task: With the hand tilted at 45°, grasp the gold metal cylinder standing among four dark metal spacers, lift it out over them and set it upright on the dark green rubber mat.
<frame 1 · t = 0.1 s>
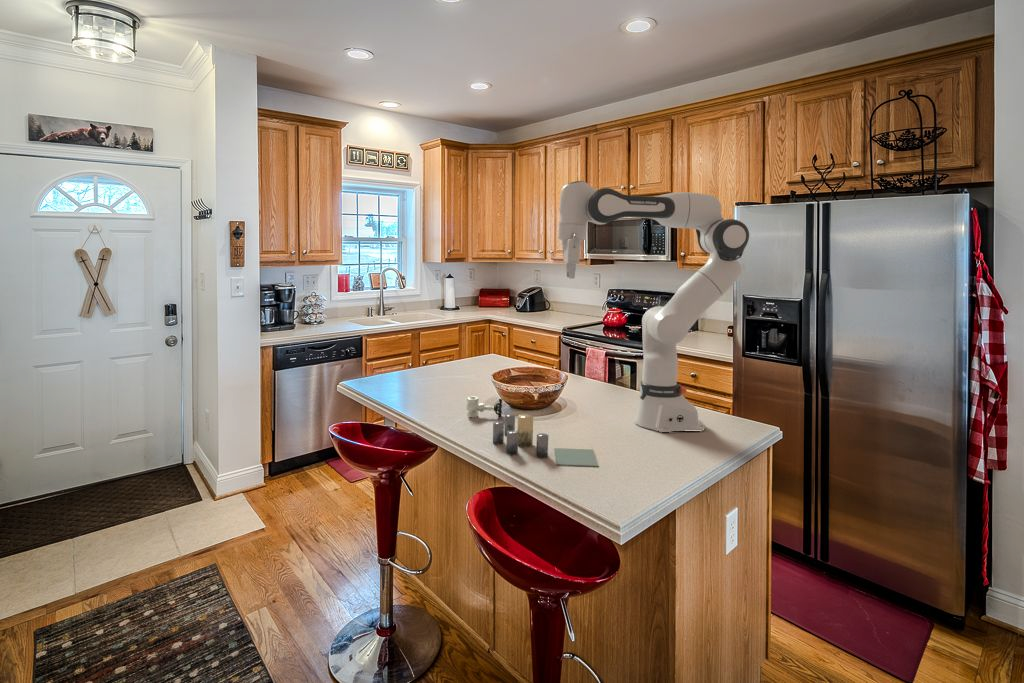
hand: (570, 277, 173), 48 cm above the countertop, tool pointing down, fingers open, 8 cm apart
valve: (484, 417, 183), on the countertop
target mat: (575, 457, 148), on the countertop
gold metal cylinder: (524, 444, 157), on the countertop
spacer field: (524, 444, 157), on the countertop
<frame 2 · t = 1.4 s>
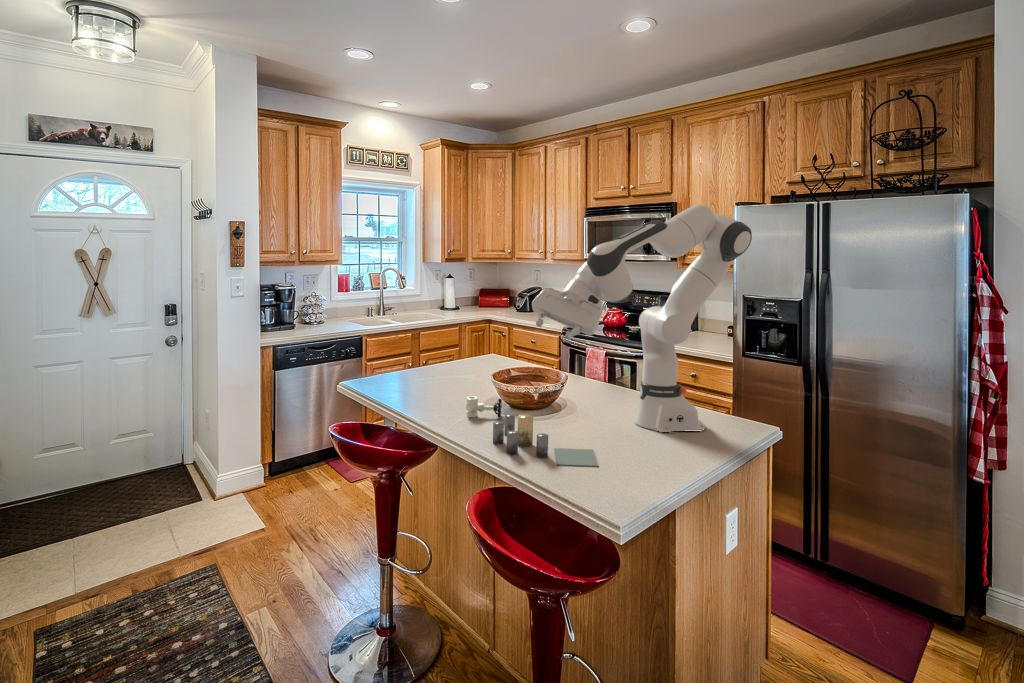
hand: (552, 331, 151), 34 cm above the countertop, tool tilted 50°, fingers open, 8 cm apart
nothing on the countertop moved.
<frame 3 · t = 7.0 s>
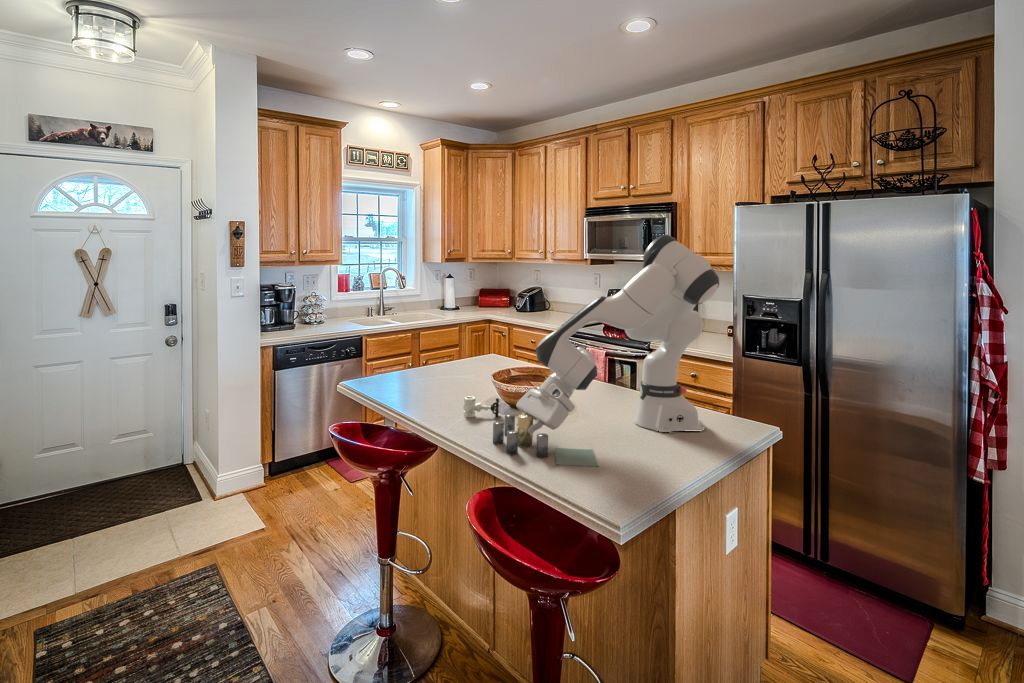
hand: (523, 429, 156), 5 cm above the countertop, tool tilted 45°, fingers closed on gold metal cylinder, 4 cm apart
gold metal cylinder: (524, 444, 157), on the countertop, touching gripper
when the fingers open (6 cm above the countertop, at t = 12.4 s): gold metal cylinder drops 1 cm, resting on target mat.
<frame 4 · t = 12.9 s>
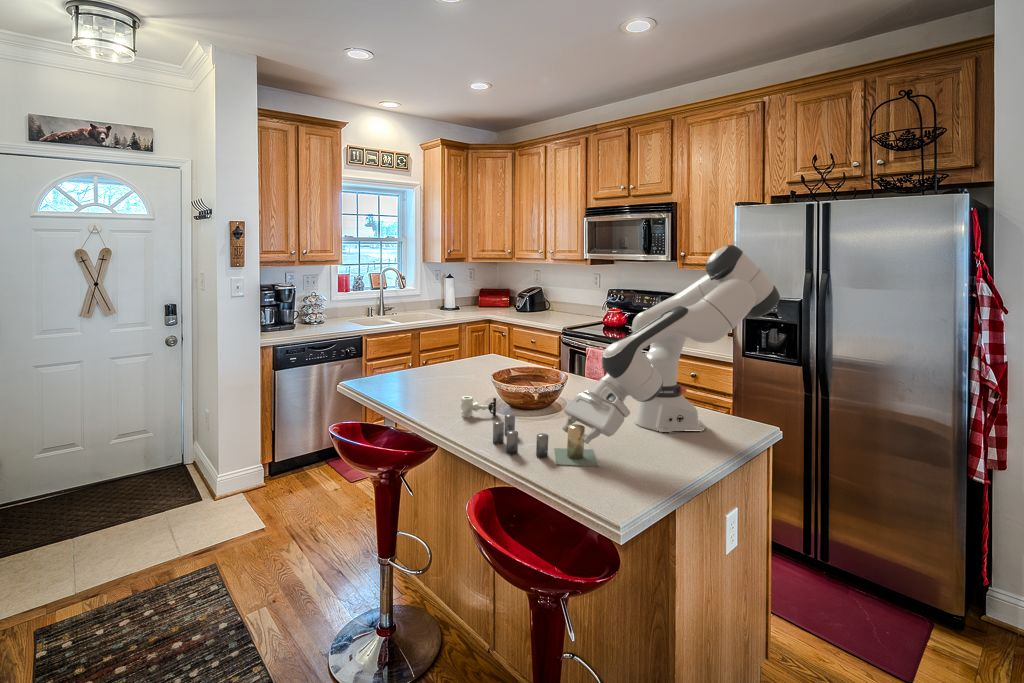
hand: (574, 436, 146), 6 cm above the countertop, tool tilted 45°, fingers open, 8 cm apart
gold metal cylinder: (575, 456, 148), resting on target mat
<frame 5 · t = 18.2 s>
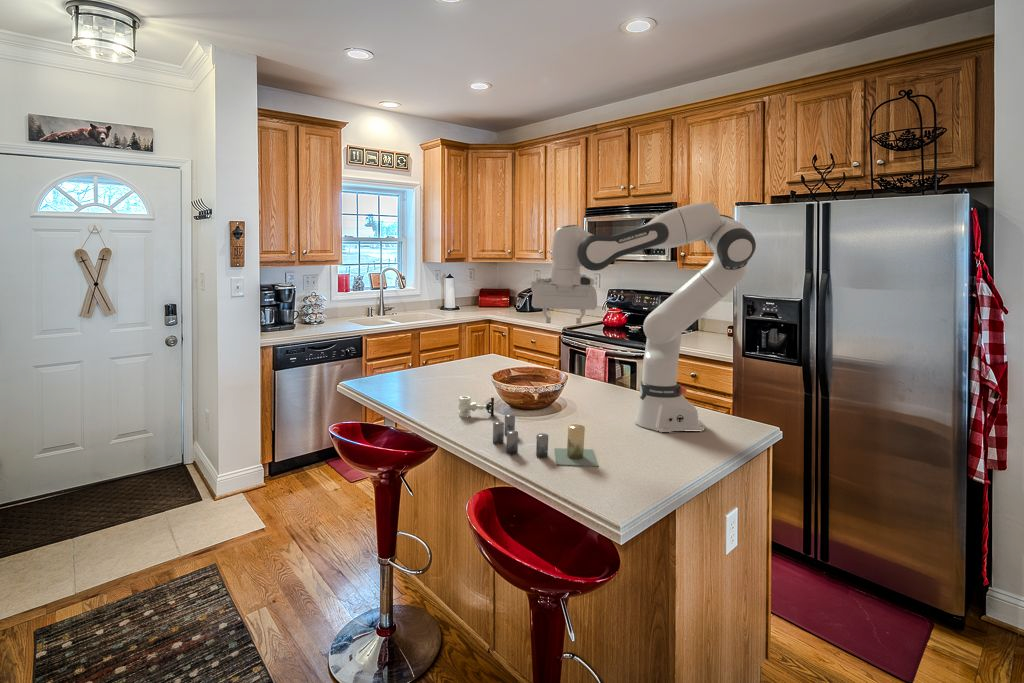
hand: (563, 323, 167), 34 cm above the countertop, tool pointing down, fingers open, 8 cm apart
at the end: gold metal cylinder inside the target area (0.1 cm from its centre), resting on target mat; gold metal cylinder tilted 0°; the gripper is holding nothing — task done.
